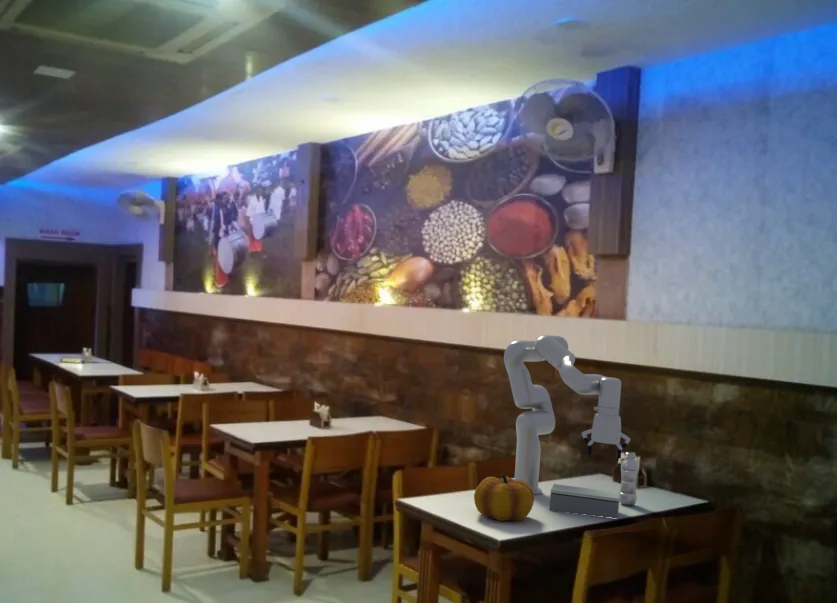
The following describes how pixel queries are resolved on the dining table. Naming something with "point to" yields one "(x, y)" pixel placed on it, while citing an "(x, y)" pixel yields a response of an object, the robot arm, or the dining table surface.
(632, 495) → the plastic bottle
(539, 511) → the dining table surface
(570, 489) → the cover
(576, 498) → the grey rectangular box
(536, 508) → the dining table surface
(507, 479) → the decorative pumpkin
